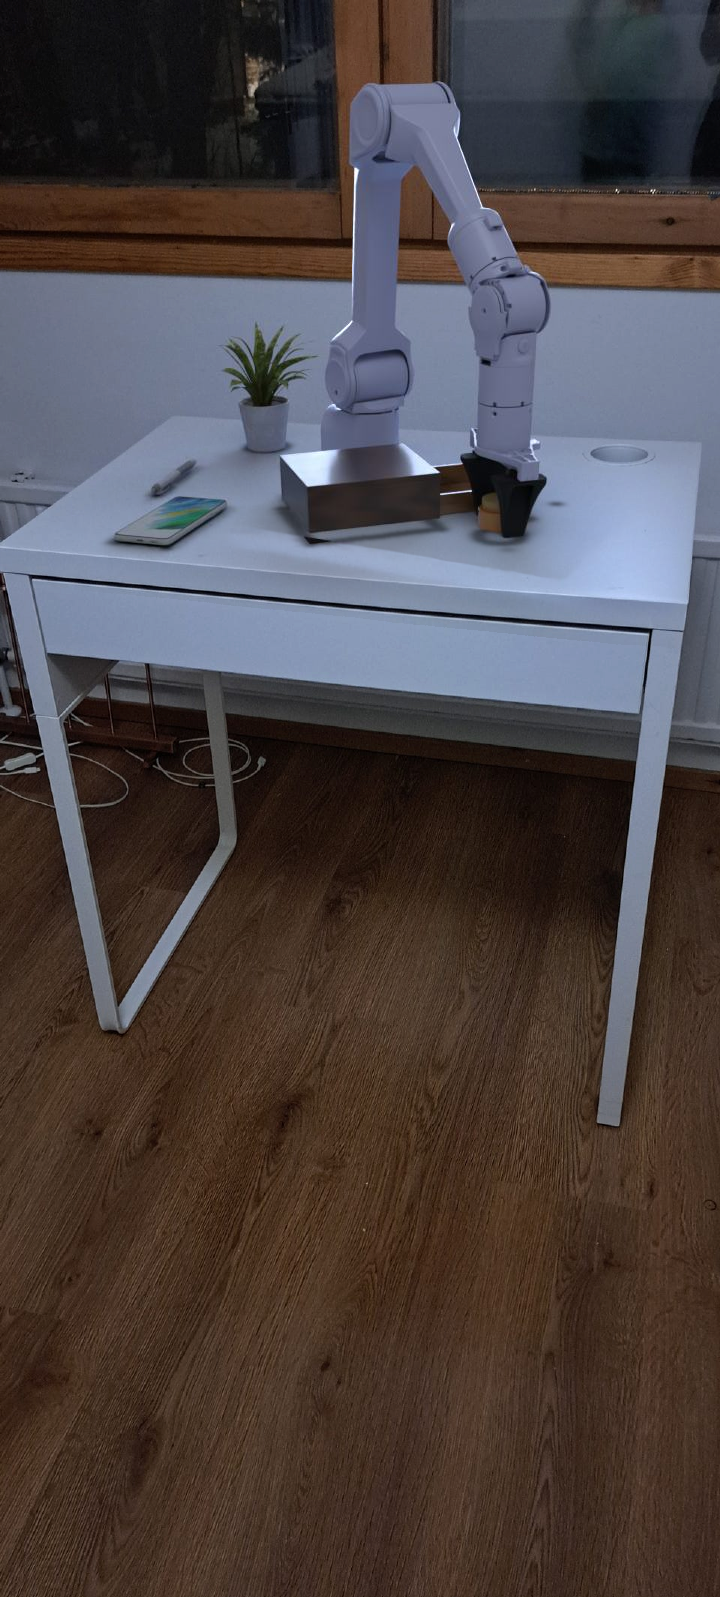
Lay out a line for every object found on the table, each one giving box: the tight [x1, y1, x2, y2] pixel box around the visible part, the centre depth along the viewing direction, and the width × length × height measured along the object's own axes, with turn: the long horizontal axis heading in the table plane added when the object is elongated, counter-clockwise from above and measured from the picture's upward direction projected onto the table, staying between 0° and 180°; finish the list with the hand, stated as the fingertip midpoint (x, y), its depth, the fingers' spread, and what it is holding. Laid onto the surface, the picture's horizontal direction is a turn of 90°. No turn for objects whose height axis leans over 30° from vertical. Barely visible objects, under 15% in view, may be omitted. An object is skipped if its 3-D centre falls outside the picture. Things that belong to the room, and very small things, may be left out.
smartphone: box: [113, 496, 228, 546], centre depth 134 cm, size 7×1×15 cm
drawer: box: [431, 462, 509, 516], centre depth 135 cm, size 16×13×6 cm
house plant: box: [219, 322, 319, 453], centre depth 157 cm, size 14×14×16 cm
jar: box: [477, 493, 502, 533], centre depth 127 cm, size 5×5×4 cm
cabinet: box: [279, 442, 441, 545], centre depth 133 cm, size 15×13×6 cm
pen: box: [150, 458, 197, 495], centre depth 148 cm, size 1×14×1 cm, turn 164°
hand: (499, 528), depth 128 cm, fingers open, 7 cm apart
